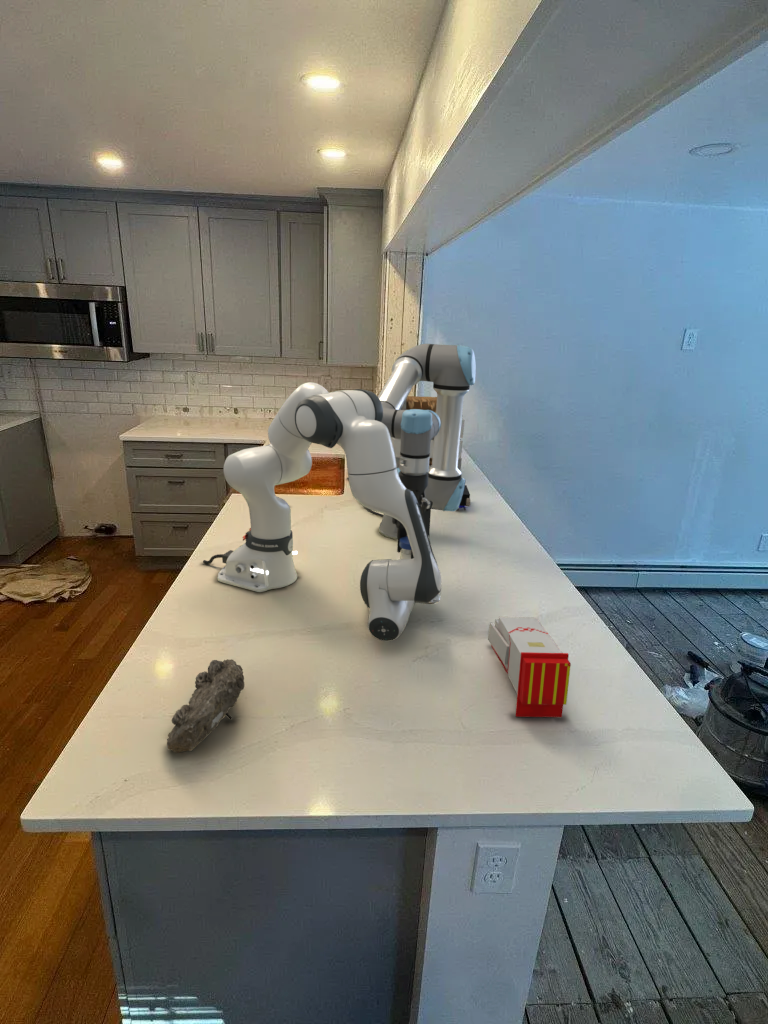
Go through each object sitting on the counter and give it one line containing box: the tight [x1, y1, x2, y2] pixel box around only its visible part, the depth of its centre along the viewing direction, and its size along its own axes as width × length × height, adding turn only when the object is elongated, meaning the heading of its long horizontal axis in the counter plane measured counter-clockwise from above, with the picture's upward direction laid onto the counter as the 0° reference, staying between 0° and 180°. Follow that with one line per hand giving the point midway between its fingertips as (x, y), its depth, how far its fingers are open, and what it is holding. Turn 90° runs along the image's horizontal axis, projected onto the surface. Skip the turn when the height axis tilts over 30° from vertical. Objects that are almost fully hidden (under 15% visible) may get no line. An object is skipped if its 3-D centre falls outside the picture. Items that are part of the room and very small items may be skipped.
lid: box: [399, 537, 411, 550], centre depth 151 cm, size 5×5×2 cm
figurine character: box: [456, 484, 471, 512], centre depth 229 cm, size 7×8×15 cm
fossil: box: [166, 658, 245, 754], centre depth 106 cm, size 22×10×15 cm
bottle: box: [399, 548, 411, 559], centre depth 154 cm, size 4×4×15 cm
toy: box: [487, 616, 572, 718], centre depth 123 cm, size 12×13×30 cm
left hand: (407, 574), depth 155 cm, fingers closed on bottle, 4 cm apart
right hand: (408, 554), depth 152 cm, fingers closed on lid, 5 cm apart
